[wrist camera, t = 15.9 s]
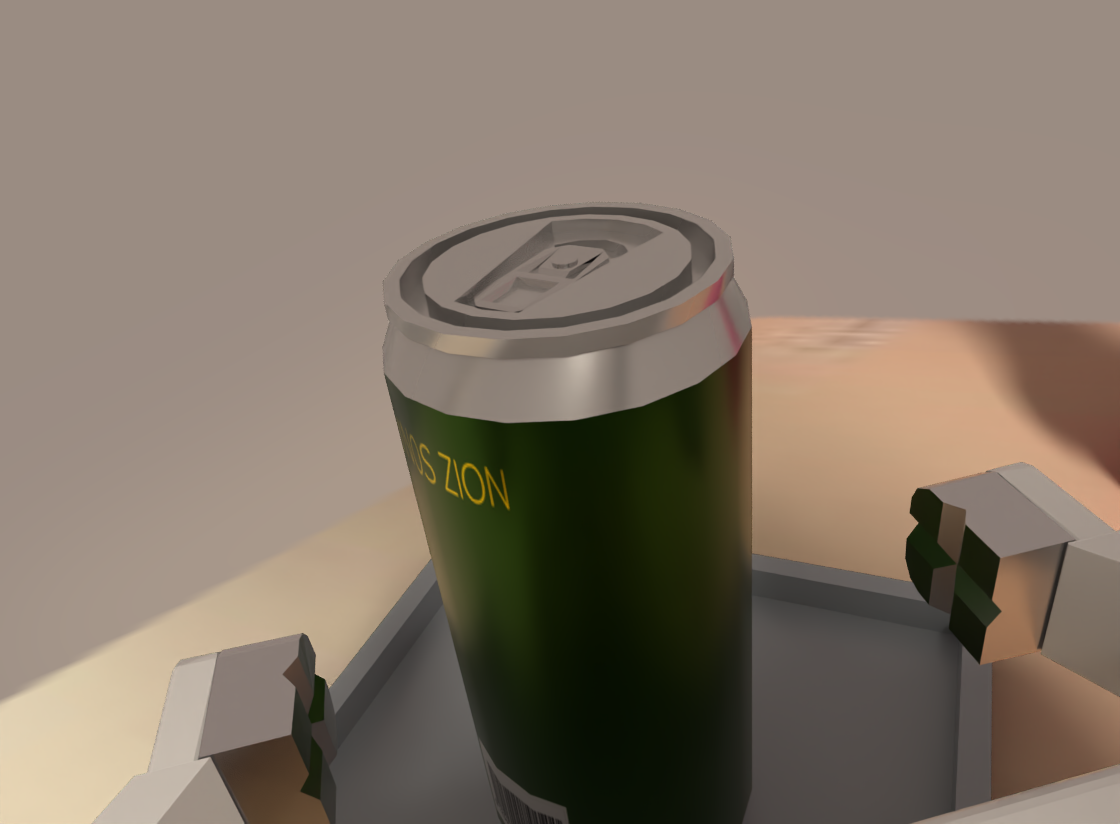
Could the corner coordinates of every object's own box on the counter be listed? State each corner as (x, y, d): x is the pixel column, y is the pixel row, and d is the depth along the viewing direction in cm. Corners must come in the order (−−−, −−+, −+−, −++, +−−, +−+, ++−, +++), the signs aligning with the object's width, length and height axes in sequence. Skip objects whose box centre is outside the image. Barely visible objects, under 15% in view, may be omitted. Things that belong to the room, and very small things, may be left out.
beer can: (679, 977, 15) (627, 384, 9) (446, 834, 18) (282, 309, 11) (791, 745, 19) (810, 211, 12) (583, 657, 21) (514, 187, 15)
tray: (131, 1022, 16) (99, 982, 15) (482, 541, 27) (474, 503, 26) (968, 1489, 10) (986, 1463, 9) (984, 640, 21) (992, 596, 20)
